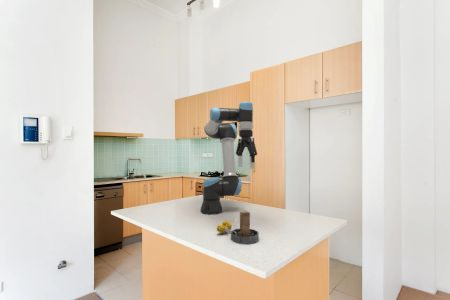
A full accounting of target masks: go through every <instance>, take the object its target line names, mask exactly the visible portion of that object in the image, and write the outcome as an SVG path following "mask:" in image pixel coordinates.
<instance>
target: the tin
mask: <svg viewBox="0 0 450 300" xmlns="http://www.w3.org/2000/svg"><path fill="white" fill-rule="evenodd" d="M233 231H235V232H236V233H237V236H236V234H235V232H233ZM259 234H260V233H259V231H258V230H256V229H253V228H250V237H242V233H240V228H235V229H232V230H231V234H230V240H231V241H232V243H236V244H240V245H252V244H256V243H258V242H259V240H260V239H259Z"/></svg>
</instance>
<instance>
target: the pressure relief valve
mask: <svg viewBox="0 0 450 300" xmlns="http://www.w3.org/2000/svg"><path fill="white" fill-rule="evenodd" d="M232 224H233V223H231V222H230V221H229V220H225V221H222V223H221V224H218V225H217V226H216V231H217V232H218V233H219V234H221V235H222V234H223V235H224V232H226V233H227V234H230V235H231V231H233V230H232V227H233V225H232ZM233 232H235V231H233ZM235 234H236V236H237V233H236V232H235Z"/></svg>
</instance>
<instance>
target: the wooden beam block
mask: <svg viewBox="0 0 450 300" xmlns="http://www.w3.org/2000/svg"><path fill="white" fill-rule="evenodd" d="M250 214H251V213H250V212H249V211H247V210H243V211H239V229H240V233H242V237H250V229H251V220H250V219H251V218H250V217H251V215H250Z"/></svg>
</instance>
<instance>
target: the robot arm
mask: <svg viewBox="0 0 450 300" xmlns="http://www.w3.org/2000/svg"><path fill="white" fill-rule="evenodd" d="M253 110H254V107H253V103H252V102H251V101H241V102H239V104H238V108H232V107H231V108H229V107H228V108H227V107H211V108H210V111H209V120H208V121H207V123H205V125H204V127H203V129H204V133H205V135H206V136H208V138H212V139H215V140H217V139H218V140H219V143H221V150H222V166H223V175H222V177H221V178H220V177H218V176H217V177H215V176H213V177H208V178H205V179H204V180H203V181H202V203H201V207H200V213H201V214H205V215H218V214H222V213H223V207H222V203H221V197H230V196H232V197H234V196H239V195H240V194H241V191H242V184H243V183H242V180H241V178H239V175H237V172H236V161H235V160H236V158H235V156H237V167H238V168H243V166H244V165H243V162H244V161H243V157H244V155H243V154H244V151H245V148H247V149H246V150H247V151H248V154H249V170H250V169H251V170H252V169H253V170H254V169H255V167H256V165H255V163H256V162H255V159H256V158H255V157H256V156H257V155H258V152H257V148H256V144H255V138H254V137H253V136H254V134H253V128H254V125H253V124H254V123H253V115H254V114H253V112H254V111H253ZM224 122H228V123H224ZM229 122H236V123H238V126H239V127H238V129H239V131H238V129H237V125H235V124H234V123H229ZM238 136H239V138H238V140H237V137H238ZM236 140H237V146H236V149H235V145H234V142H235V141H236ZM235 150H236V151H235Z"/></svg>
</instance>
